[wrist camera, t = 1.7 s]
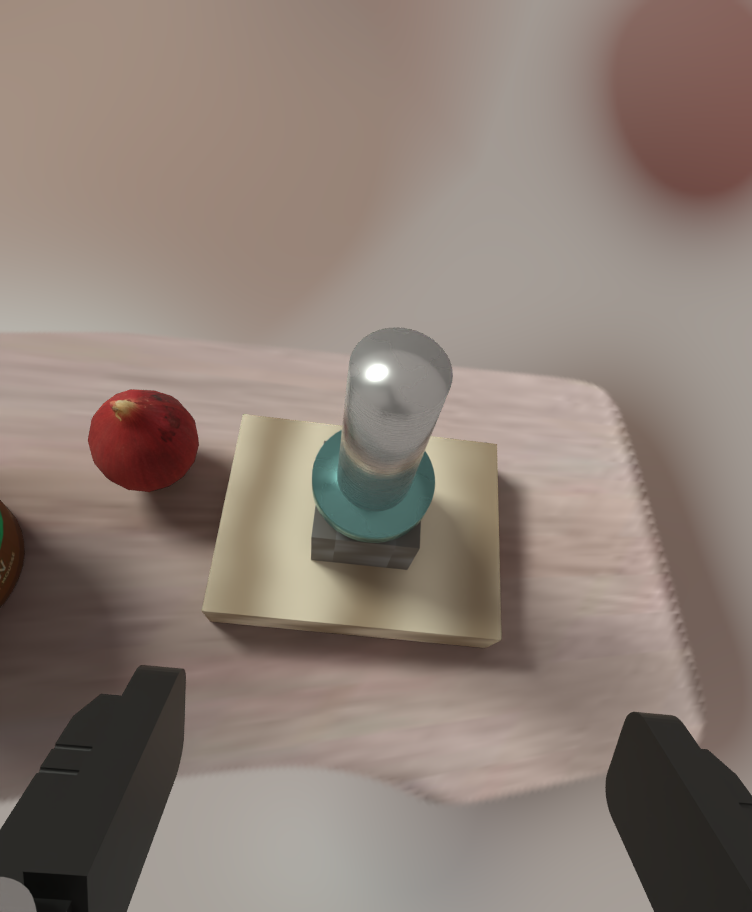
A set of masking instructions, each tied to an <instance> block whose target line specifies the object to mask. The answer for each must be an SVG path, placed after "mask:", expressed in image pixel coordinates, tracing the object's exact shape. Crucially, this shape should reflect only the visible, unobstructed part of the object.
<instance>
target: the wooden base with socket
mask: <svg viewBox="0 0 752 912" xmlns="http://www.w3.org/2000/svg"><path fill="white" fill-rule="evenodd" d="M340 430H342V426H339V425H331V424H322V423H314V422H306V421H297V420H289V419H280V418H272V417H263V416H255V415H246V414H243V416H242V421H241V426H240V431H239V435H238V440H237V445H236V450H235V454H234V459H233V464H232V469H231V473H230V478H229V483H228V488H227V492H226V497H225V502H224V507H223V511H222V516H221V521H220V526H219V530H218V535H217V540H216V545H215V549H214V554H213V559H212V564H211V568H210V573H209V578H208V583H207V587H206V592H205V597H204V602H203V607H202V612H203V613H204V614H205V616H206V617H207V618H208V619H209V621H210V622H220V623H231V624H241V625H252V626H262V627H272V628H283V629H293V630H304V631H314V632H324V633H335V634H345V635H356V636H366V637H376V638H387V639H397V640H408V641H418V642H429V643H439V644H449V645H460V646H470V647H481V648H487V647H489V646H491V645H493V644H495V643H497V642H499V641H500V640H501V599H500V557H499V514H498V471H497V444H491V443H483V442H475V441H466V440H458V439H449V438H441V437H432V436H431V437H430V439H429V442H428V444H427V447H426V449H425V451H426V453H427V454H428V456H429V458H430V460H431V462H432V466H433V469H434V474H435V491H434V495H433V499H432V501H431V503H430V506H429V508H428V510H427V511H426V513H425V515H424V517H423V518H422V520H421V521H420V522H419V523H418V525H417V526H415V527H414V528H413V529H412V530H411V531H409V532H408V533H407V534H405V535H403V536H401V537H399V538H397V539H394V540H391V541H386V542H378V543H370V542H362V541H358V540H354V539H351V538H349V537H347V536H344V535H343V534H341V533H339V532H338V531H336V530H335V529H334V528H332V527H331V526H330V525H329V524H328V523H327V522H326V521H325V520H324V518H323V517H322V515H321V514H320V512H319V511H318V509H317V507H316V504H315V501H314V498H313V493H312V469H313V465H314V461H315V458H316V456H317V454H318V452H319V450H320V449H321V447H322V446H323V444H324V443H325V442H326V441H327V440H328V439H329V438H330V437H331V436H333V435H334V434H335V433H337V432H339V431H340Z"/></svg>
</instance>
